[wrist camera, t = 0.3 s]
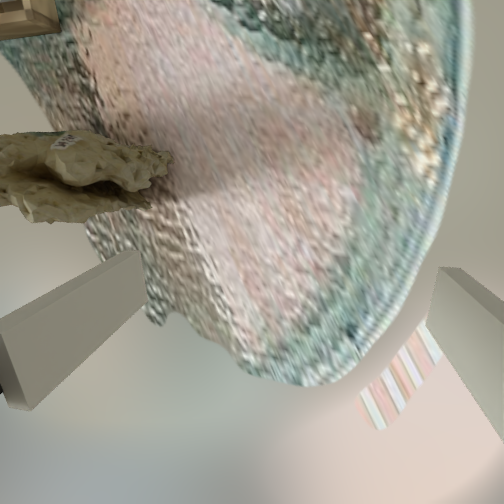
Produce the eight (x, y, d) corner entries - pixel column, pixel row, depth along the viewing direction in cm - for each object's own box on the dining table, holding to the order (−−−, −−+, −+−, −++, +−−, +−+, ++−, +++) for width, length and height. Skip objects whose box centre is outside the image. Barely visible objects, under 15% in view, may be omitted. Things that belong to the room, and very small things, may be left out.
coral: (39, 190, 46) (-144, 218, 27) (27, 124, 42) (-193, 104, 24) (184, 209, 42) (87, 254, 23) (184, 138, 38) (70, 126, 20)
